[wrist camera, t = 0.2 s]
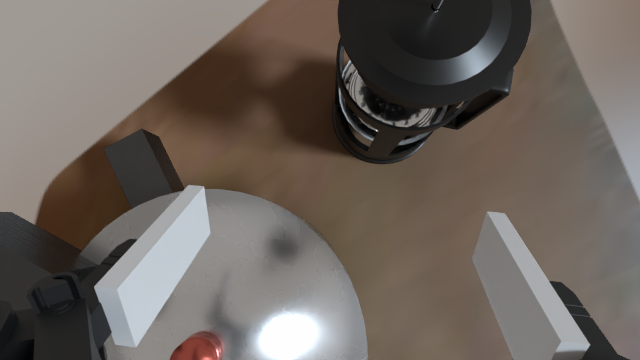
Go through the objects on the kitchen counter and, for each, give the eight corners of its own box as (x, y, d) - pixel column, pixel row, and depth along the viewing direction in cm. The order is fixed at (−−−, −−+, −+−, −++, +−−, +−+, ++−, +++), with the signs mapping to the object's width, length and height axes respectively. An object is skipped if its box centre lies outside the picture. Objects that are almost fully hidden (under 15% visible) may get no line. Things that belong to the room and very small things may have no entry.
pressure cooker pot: (407, 388, 30) (445, 473, 20) (225, 489, 30) (172, 626, 20) (262, 115, 33) (232, 72, 23) (95, 204, 33) (-8, 199, 23)
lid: (417, 275, 21) (442, 292, 17) (275, 576, 20) (258, 690, 15) (84, 105, 23) (19, 76, 18) (-68, 369, 22) (-180, 412, 17)
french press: (316, 151, 33) (280, 1, 10) (336, 58, 34) (347, -277, 11) (439, 177, 32) (707, 82, 9) (457, 81, 33) (742, -223, 10)
